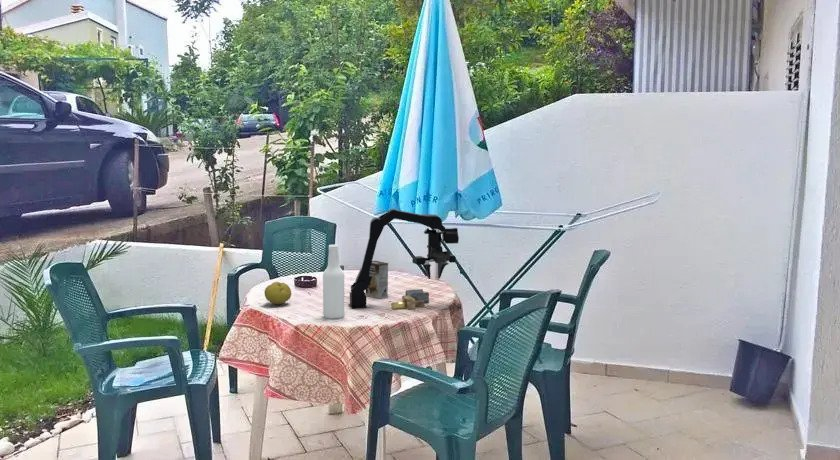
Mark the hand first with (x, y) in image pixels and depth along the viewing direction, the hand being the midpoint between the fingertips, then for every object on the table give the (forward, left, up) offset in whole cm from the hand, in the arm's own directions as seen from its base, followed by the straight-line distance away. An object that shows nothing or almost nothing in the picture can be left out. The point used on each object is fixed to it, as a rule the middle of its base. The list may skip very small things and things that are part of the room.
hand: (434, 278), depth 323 cm
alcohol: (-47, -4, -12) cm, 48 cm away
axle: (-15, 0, -12) cm, 19 cm away
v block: (-5, +9, -12) cm, 16 cm away
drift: (-8, 0, -12) cm, 14 cm away
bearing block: (-12, 0, -12) cm, 17 cm away
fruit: (-65, +24, -12) cm, 70 cm away
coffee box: (-19, +25, -12) cm, 33 cm away
